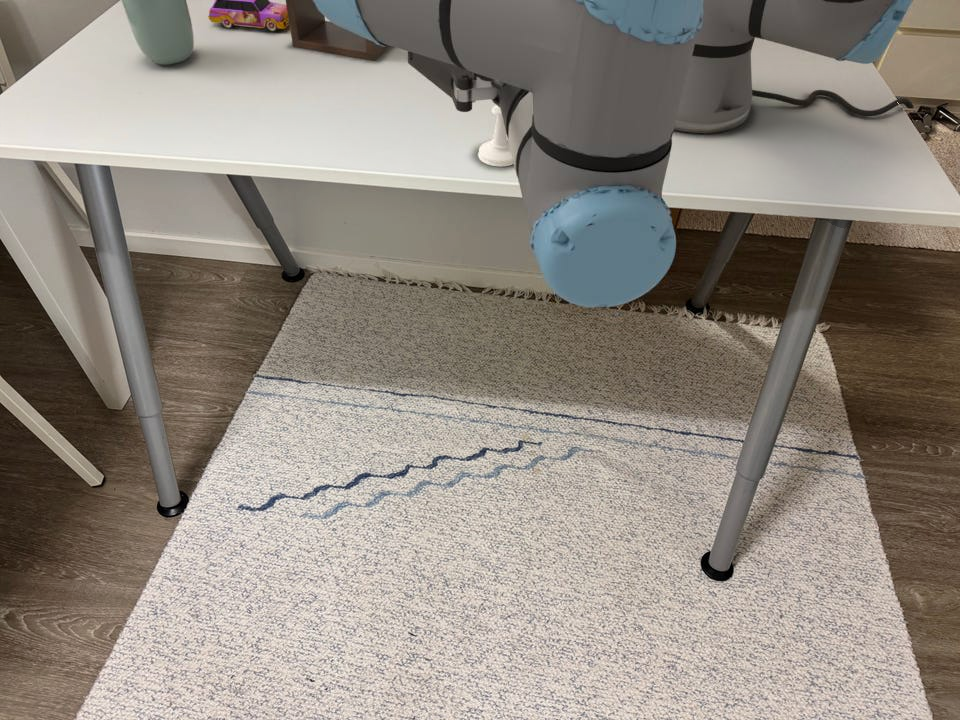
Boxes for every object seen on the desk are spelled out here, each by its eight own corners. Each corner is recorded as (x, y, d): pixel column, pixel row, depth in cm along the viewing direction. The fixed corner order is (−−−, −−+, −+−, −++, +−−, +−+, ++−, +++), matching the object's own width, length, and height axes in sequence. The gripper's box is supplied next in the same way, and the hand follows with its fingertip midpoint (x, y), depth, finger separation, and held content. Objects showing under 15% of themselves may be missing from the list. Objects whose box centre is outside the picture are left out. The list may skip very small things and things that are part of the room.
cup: (132, 56, 102) (107, -20, 95) (184, 42, 105) (164, -33, 98) (156, 76, 98) (132, -3, 91) (209, 60, 101) (190, -17, 94)
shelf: (397, 39, 108) (394, -19, 102) (374, 60, 102) (369, 1, 97) (319, 26, 111) (311, -31, 105) (292, 46, 105) (283, -13, 100)
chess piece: (516, 169, 83) (521, 84, 76) (474, 163, 84) (475, 79, 77) (523, 147, 86) (529, 64, 79) (482, 142, 87) (484, 59, 80)
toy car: (285, 34, 108) (279, 2, 105) (208, 27, 109) (200, -5, 106) (297, 20, 112) (292, -12, 109) (223, 13, 113) (216, -18, 110)
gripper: (381, 181, 51) (381, 53, 66) (725, 169, 53) (650, 48, 68) (371, 76, 46) (374, -37, 60) (755, 68, 48) (667, -40, 62)
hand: (520, 8), depth 64 cm, fingers open, 13 cm apart
